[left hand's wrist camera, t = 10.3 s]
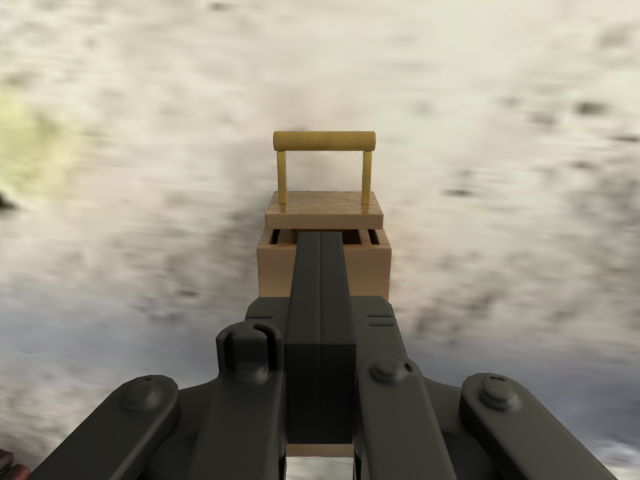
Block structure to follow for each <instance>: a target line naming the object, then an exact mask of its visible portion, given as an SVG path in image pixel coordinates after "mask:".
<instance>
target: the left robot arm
mask: <svg viewBox="0 0 640 480" xmlns="http://www.w3.org/2000/svg"><path fill="white" fill-rule="evenodd" d="M216 347H217V356H218V365H219V374H218V377H217V378H216V379H214V380H212V381H210V382H208V383H205V384H201V385H198V386H194V387H190V388H185V389H181V390H178V385H177V384H176V383H175V382H174V380H173V379H171V378H169V377H166V376H163V375H147V376H142V377H138V378H135V379H133V380H131V381H128V382H126V383H124V384H122V385H121V386H120V387H119V388H117V389H116V390H115V391H113V392H112V393H111V394H110V395H109V396H108V397H107V398H106V399H105V400H104V401H103V402H102V403H101V404H100V405H99V406H98V407H97V408H96V409H95V410H94V411H93V412H92V413H91V414H90V415H89V416H88V417H87V418H86V419H85V420H84V421H83V422H82V423H81V424H80V425H79V426H78V427H77V428H76V429H75V430H74V431H73V432H72V433H71V434H70V435H69V436H68V437H67V438H66V439H65V440H64V441H63V442H62V443H61V444H60V445H59V446H58V447H57V448H56V449H55V450H54V451H53V452H52V453H51V454H50V455H49V456H48V457H47V458H46V459H45V460H44V461H43V462H42V463H41V464H40V465H39V466H38V467H37V468H36V469H35V470H34V471H33V472H32V473H31V474H30V475H29V476H28V477H27V478H26V479H25V480H286V468H287V461H286V443H287V444H353V441H354V461H353V480H618V479H617V478H616V477H615V476H614V475H613V474H612V473H611V472H610V471H609V470H608V469H607V468H606V467H605V466H604V465H603V464H602V463H601V462H600V461H599V460H598V459H597V458H596V457H595V456H594V455H593V454H591V453H590V452H589V451H588V450H587V449H586V448H585V447H584V446H583V445H582V444H581V443H580V442H579V441H578V440H577V439H576V438H575V437H574V436H573V435H572V434H571V433H570V432H569V431H568V430H567V429H566V428H565V427H564V426H563V425H562V424H561V423H560V422H559V421H558V420H557V419H556V418H555V417H554V416H553V415H552V414H551V413H550V412H549V411H548V410H547V409H546V408H545V407H544V406H543V405H542V404H541V403H540V402H539V401H538V400H537V399H536V398H535V397H534V396H533V395H532V394H531V393H530V392H529V391H528V390H527V389H526V388H524V387H523V386H522V385H520V384H519V383H518V382H516V381H514V380H512V379H509V378H507V377H505V376H501V375H497V374H492V373H478V374H475V375H472V376H470V377H468V378H467V379H466V380H465V381H464V382H463V384H462V388H458V387H453V386H449V385H445V384H441V383H438V382H434V381H432V380H430V379H428V378H425V377H424V376H422V374H421V371H420V370H419V368H418V367H417V365H416V364H415V363H414V362H412V361H411V360H410V359H408V357H407V354H406V350H405V347H404V344H403V341H402V338H401V334H400V331H399V328H398V327H397V322H396V318H395V315H394V312H393V309H392V306H391V304H390V303H389V302H388V301H387V300H385V299H384V298H383V297H382V296H350V292H349V284H348V277H347V270H346V263H345V255H344V248H343V241H342V233H341V232H299V233H298V241H297V248H296V255H295V263H294V270H293V277H292V284H291V292H290V297H258V298H257V299H256V300H255V301H254V302H253V303H252V304H251V305H250V306H249V307H248V310H247V314H246V319H245V320H244V322H239V323H236V324H233V325H230V326H228V327H227V328H225V329H224V330H222V331H221V332H220V333H219V335H218V336H217V337H216Z"/></svg>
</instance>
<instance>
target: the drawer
mask: <svg viewBox="0 0 640 480" xmlns="http://www.w3.org/2000/svg"><path fill="white" fill-rule="evenodd" d="M273 145H274V150H275V151H277V166H278V192H275V193H274V195H273V197H272V200H271V202H270V204H269V207H268V209H267V211H266V214H265V223H266V229H281V231H280V234H279V238H278V241H277V244H297V241H298V233H299V232H341V233H342V241H343V245H371V241H370V238H369V234H368V231H367V229H383V216H384V215H383V213H382V210H381V208H380V206H379V204H378V201H377V199H376V197H375V195H374V192H370V183H371V161H372V151H374V150H375V145H376V134H375V132H374V131H275V132H274V134H273ZM286 151H363V172H362V192H287V185H286Z"/></svg>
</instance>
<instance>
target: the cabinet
mask: <svg viewBox="0 0 640 480" xmlns="http://www.w3.org/2000/svg"><path fill="white" fill-rule="evenodd" d="M280 231H281V229H266V226H265V229H264V231H263V234H262V237H261V239H260V242H259V244H258V247H257V261H258V278H259V295H260V297H290V292H291V284H292V277H293V270H294V263H295V255H296V248H297V244H277V241H278V238H279V234H280ZM367 231H368V234H369V238H370V241H371V245H343V248H344V255H345V263H346V270H347V277H348V284H349V292H350V296H382V297H383V298H384V299H385V300H387V301H388V297H389V282H390V267H391V253H392V248H391V246H390V243H389V241H388V238H387V236H386V234H385V231H384V229H367ZM286 457H354V441H353V444H287V443H286Z"/></svg>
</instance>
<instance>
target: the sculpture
mask: <svg viewBox="0 0 640 480" xmlns="http://www.w3.org/2000/svg"><path fill="white" fill-rule="evenodd" d="M13 459H14V455H13V453H11V452H7V451H4V450H2V449H0V480H25V479H26V478H27V477H28V476H29V475H30V474H31V473H30V469H29V468H27V467H25V466H23V465H21V464H17V465H15V466H12V463H13ZM11 466H12V467H11Z"/></svg>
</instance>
